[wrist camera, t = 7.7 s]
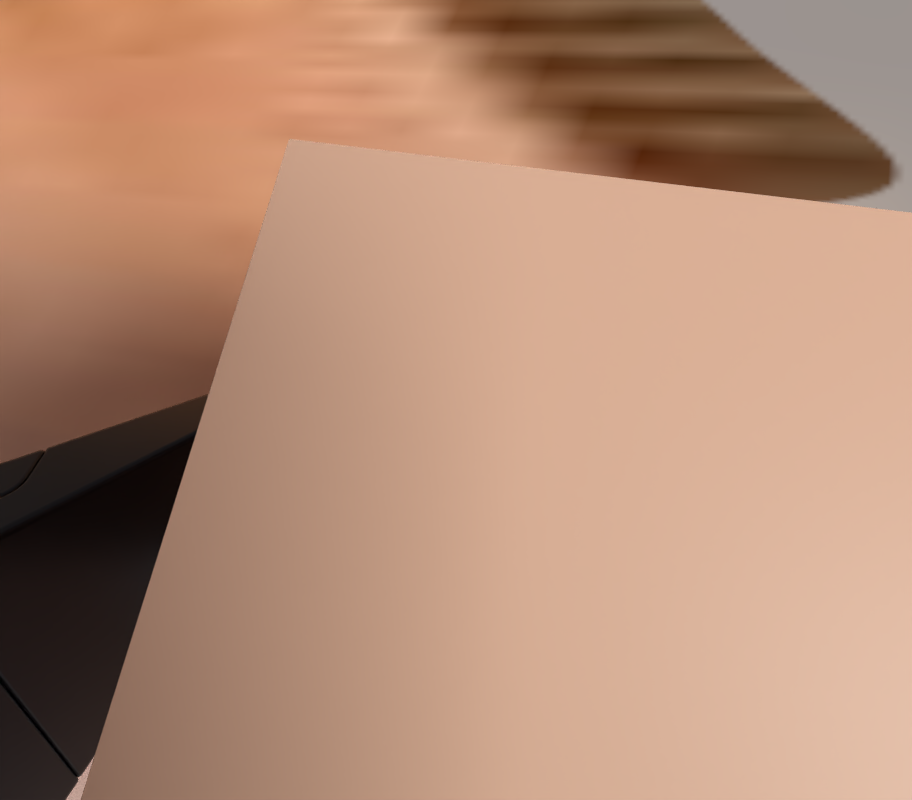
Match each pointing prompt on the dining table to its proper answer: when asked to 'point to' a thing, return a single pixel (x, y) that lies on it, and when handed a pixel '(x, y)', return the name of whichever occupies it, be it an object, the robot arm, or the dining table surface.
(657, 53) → the dining table surface
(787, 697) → the block
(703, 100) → the dining table surface
